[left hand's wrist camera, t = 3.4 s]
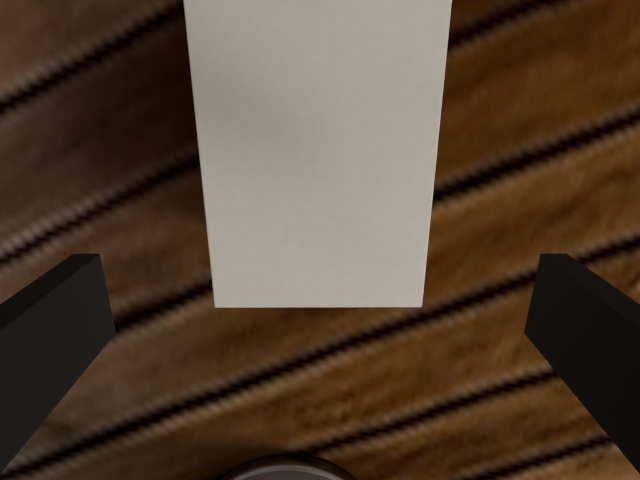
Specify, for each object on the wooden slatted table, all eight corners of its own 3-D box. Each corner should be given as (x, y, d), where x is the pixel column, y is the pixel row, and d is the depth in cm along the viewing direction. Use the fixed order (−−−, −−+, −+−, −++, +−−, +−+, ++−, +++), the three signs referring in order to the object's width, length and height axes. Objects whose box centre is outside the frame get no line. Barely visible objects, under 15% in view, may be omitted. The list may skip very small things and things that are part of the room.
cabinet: (226, -49, 23) (169, -132, 14) (409, -49, 23) (465, -131, 14) (245, 241, 28) (214, 307, 20) (391, 241, 28) (422, 307, 20)
